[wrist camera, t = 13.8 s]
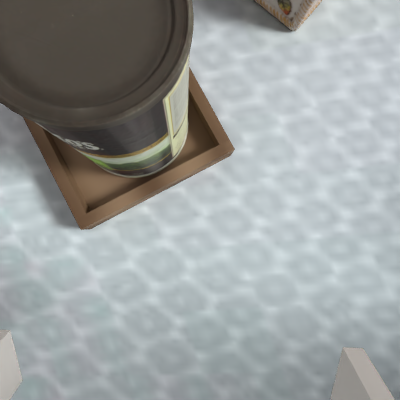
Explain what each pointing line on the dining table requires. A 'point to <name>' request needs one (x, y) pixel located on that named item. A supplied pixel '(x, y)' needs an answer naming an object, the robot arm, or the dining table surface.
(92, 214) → the holder tray
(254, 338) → the dining table surface
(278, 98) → the dining table surface
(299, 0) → the decorative jar
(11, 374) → the robot arm
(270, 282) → the dining table surface
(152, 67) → the coffee can
